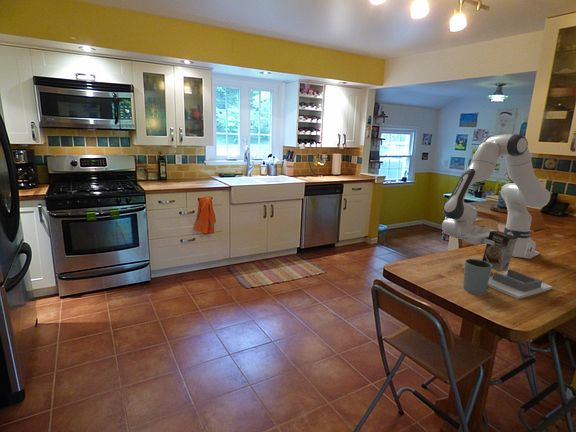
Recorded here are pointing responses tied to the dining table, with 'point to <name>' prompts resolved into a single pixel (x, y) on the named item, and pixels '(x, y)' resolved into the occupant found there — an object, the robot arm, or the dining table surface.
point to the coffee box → (499, 250)
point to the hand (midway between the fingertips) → (500, 242)
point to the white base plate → (517, 284)
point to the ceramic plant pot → (476, 276)
